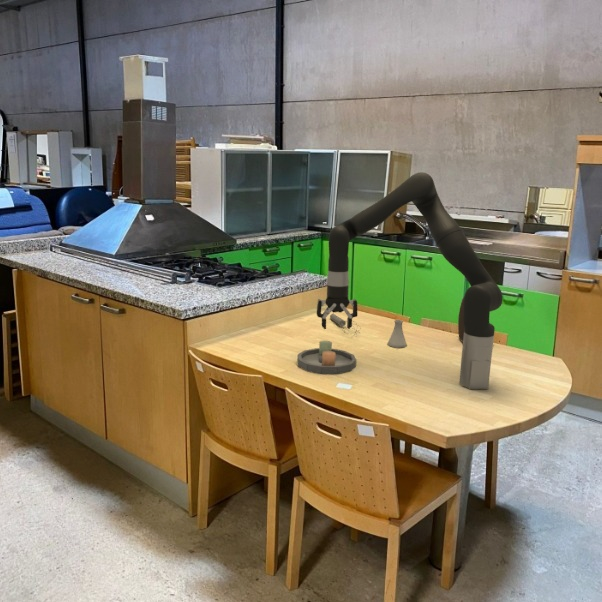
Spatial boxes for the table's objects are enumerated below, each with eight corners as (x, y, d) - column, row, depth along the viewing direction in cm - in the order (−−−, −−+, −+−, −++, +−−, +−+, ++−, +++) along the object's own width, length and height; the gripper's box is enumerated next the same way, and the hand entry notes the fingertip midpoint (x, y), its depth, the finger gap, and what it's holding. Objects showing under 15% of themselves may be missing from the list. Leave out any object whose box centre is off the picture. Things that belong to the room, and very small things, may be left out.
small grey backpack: (454, 337, 249) (459, 289, 244) (474, 337, 250) (479, 289, 245) (468, 348, 234) (473, 298, 230) (489, 348, 235) (494, 298, 230)
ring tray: (359, 374, 203) (359, 367, 203) (299, 373, 202) (299, 366, 201) (350, 355, 223) (350, 348, 222) (295, 354, 221) (296, 348, 220)
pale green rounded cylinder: (333, 356, 217) (334, 343, 216) (323, 358, 215) (323, 345, 213) (326, 353, 220) (327, 340, 219) (316, 354, 218) (317, 341, 217)
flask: (383, 344, 236) (385, 319, 234) (396, 341, 241) (398, 317, 238) (397, 349, 231) (399, 324, 228) (410, 346, 235) (412, 321, 233)
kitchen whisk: (337, 317, 274) (337, 304, 273) (362, 340, 242) (363, 325, 241) (324, 318, 273) (324, 304, 271) (348, 341, 241) (349, 325, 239)
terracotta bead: (337, 367, 206) (338, 353, 204) (326, 369, 203) (327, 355, 202) (330, 364, 209) (330, 350, 208) (319, 365, 207) (319, 351, 206)
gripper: (356, 281, 216) (354, 325, 220) (316, 281, 215) (315, 325, 218) (360, 285, 209) (358, 331, 212) (318, 285, 208) (317, 331, 211)
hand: (336, 328), depth 215 cm, fingers open, 8 cm apart
